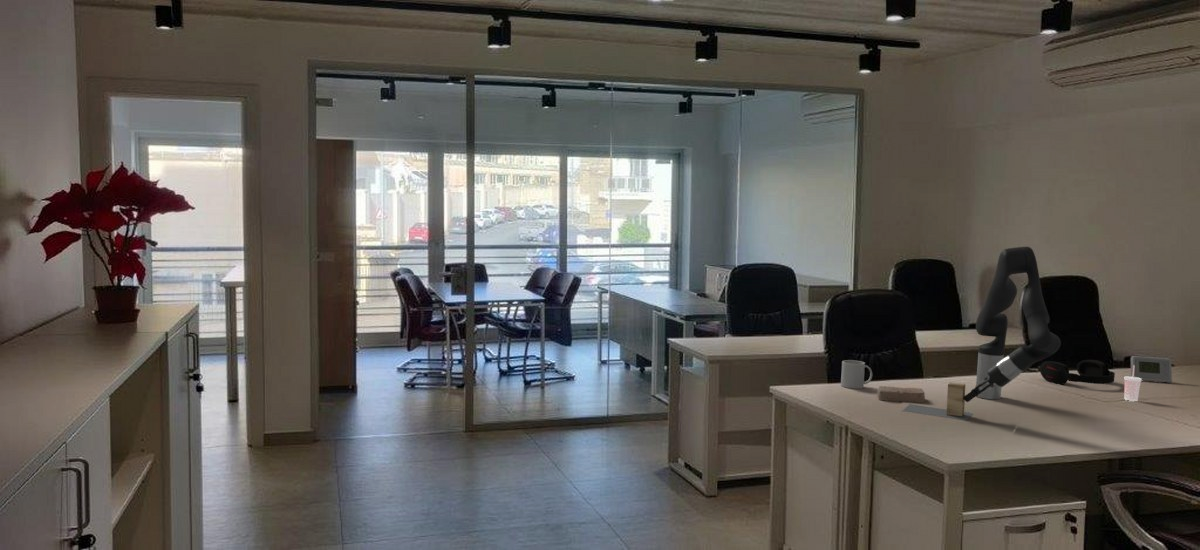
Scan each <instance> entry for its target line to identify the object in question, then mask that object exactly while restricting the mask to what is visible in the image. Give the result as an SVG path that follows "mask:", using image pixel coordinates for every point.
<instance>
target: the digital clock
mask: <svg viewBox="0 0 1200 550" xmlns="http://www.w3.org/2000/svg"><path fill="white" fill-rule="evenodd" d="M1133 365H1135V368H1134V377H1138V378H1141V379H1142V380H1143V381H1156V382H1167V383H1166V384H1171V383H1172V382H1173V373H1172V359H1170V358H1166V357H1158V356H1157V357H1156V356H1145V355H1144V356H1141V355H1139V356H1137V355H1132V356H1130V377H1132V375H1133ZM1143 381H1142V382H1143ZM1156 382H1155V383H1156Z"/></svg>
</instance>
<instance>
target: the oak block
mask: <svg viewBox="0 0 1200 550" xmlns="http://www.w3.org/2000/svg"><path fill="white" fill-rule="evenodd" d="M964 396H966V383H962V382H952V381H950V382H949V383H948V384H947V396H946V397H947V398H946V399H947V401H946V410H947V415H950V416H958V417H962V416H963V415H964V412H965V405H966V404H965V402H966V401H965V400H964V399H963V397H964Z"/></svg>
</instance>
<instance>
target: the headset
mask: <svg viewBox="0 0 1200 550" xmlns="http://www.w3.org/2000/svg"><path fill="white" fill-rule="evenodd" d="M1068 366H1069V367H1071V365H1070V364H1069V365H1067V364H1064V363H1061V362H1057V361H1050V360H1049V361H1048V360H1046V361H1044V362H1042V363H1041V364H1040V368H1039V372H1040V375H1041V377H1042V378H1043V380H1045V382H1047V383H1051V384H1055V385H1064V384H1067V382H1073V383H1085V384H1095V385H1096V384H1097V385H1108V384H1112V383H1113V382H1114V381H1115V378H1116V377H1115V375H1116V373H1115V372H1114V371H1113V370H1112V371H1111V370H1109V368H1108V366H1107V365H1106V364H1105V363H1104V362H1103V361H1101V360H1096V359H1085V360H1081V361H1079V362H1078V363H1077V365H1075V367H1076V371H1077V373H1072V372H1070V369H1069V367H1068Z"/></svg>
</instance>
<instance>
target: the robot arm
mask: <svg viewBox="0 0 1200 550" xmlns="http://www.w3.org/2000/svg"><path fill="white" fill-rule="evenodd" d="M1025 273H1026V275H1027V286H1026V289H1025V292H1024V295H1023V297H1022V301H1021V302H1022V303H1021V305H1022V310H1023V314H1024V317H1025V320H1026V322H1027V333H1028V335H1027V336H1028V339H1029V342H1030V344H1029V345H1022V346H1018V347H1017V348H1016V349H1015V350H1013V351H1012V352H1010V353H1009V354H1008V355H1005V350H1006V340H1007V332H1008V326H1009V325H1008V321H1009V320H1008V316H1007V315H1006V314H1005V313H1003V312H1004V311H1006V310H1008V309H1009V308H1010V307H1011V306H1012V305H1013V304H1014V302H1015V300H1016V296H1017V294H1018V289H1017V285H1016V284H1015V282H1014V281H1013V279H1012V278H1011V277H1010V276H1012V275H1019V274H1025ZM1039 273H1040V272H1039V268H1038V262H1037V258H1036V254H1035V252H1034V250H1033V249H1032V248H1031V247H1030V246H1017V247H1009V248H1005V249H1003V250H1001V252H1000V254H999V256H998V260H997V264H996V268H995V273H994V277H993V279H992V283H991V285H990V287H989V289H988V292H987V296H986V299H985V302H984V304H983V305H982V308H981V309H980V312H979V313H978V316H977V317H976V318H977V319H976V322H975V331H976V332H977V334H978V335H980V336H984V337H995V338H994V339H993V340H992V341H989V342H987V343H982V344H980V345H979V346H978V352H977V353H978V355H977V369H976V381H975V387H974V388H972V389H971V391H970V392H968V393H967V394H965V396H964V397H963V399H964V400H965V402H966V403H968V402H970V401H972V400H973V399H974V398H976V397H977V398H980V399H986V400H1001V398H1002V388H1003V387H1004V386H1006V385H1007V384H1010V382H1012V381H1013V380H1014V379H1016V378H1017V377H1018V376H1020V375H1021V374H1022V373H1023V372H1024V371H1026V370H1027V369H1028V368H1030V367H1031V366H1033V365H1034V364H1035V363H1038V362H1040V361H1042V360H1044V359H1047V358H1048V357H1050V356H1052V355H1054V354H1055V353H1056V352H1058V351H1059V349H1060V348H1061V343H1062V342H1061V339H1060V337H1059V336H1058V335H1056V334H1054V333H1053V332H1052V331H1050V329H1049V325H1048V324H1050V315H1049V312H1048V310H1047V307H1046V304H1045V300H1044V295H1043V291H1042V285H1041V279H1040V274H1039Z"/></svg>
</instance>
